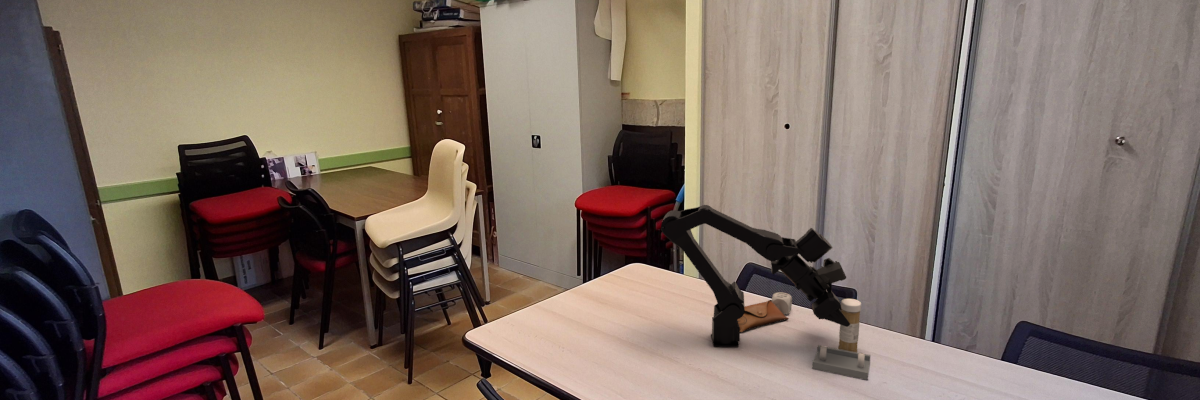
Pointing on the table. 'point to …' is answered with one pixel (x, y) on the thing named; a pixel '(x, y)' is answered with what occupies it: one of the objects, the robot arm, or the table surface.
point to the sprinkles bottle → (850, 333)
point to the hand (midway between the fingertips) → (845, 317)
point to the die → (782, 302)
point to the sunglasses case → (760, 316)
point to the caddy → (842, 362)
